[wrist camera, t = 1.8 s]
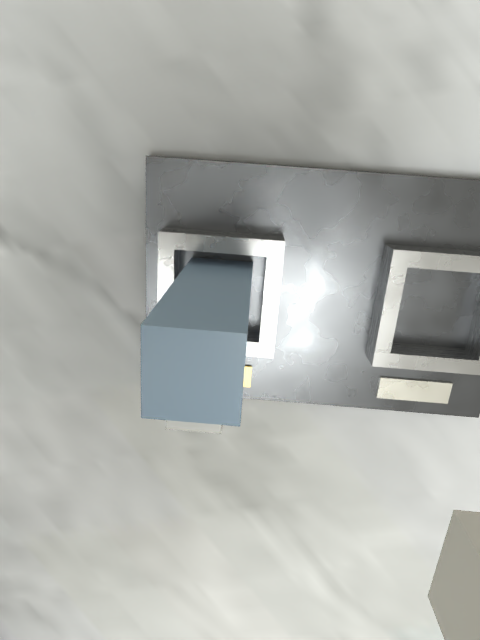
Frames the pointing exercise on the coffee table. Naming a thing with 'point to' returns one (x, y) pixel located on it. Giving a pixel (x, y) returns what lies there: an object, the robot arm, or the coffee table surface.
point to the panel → (334, 277)
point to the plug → (197, 347)
